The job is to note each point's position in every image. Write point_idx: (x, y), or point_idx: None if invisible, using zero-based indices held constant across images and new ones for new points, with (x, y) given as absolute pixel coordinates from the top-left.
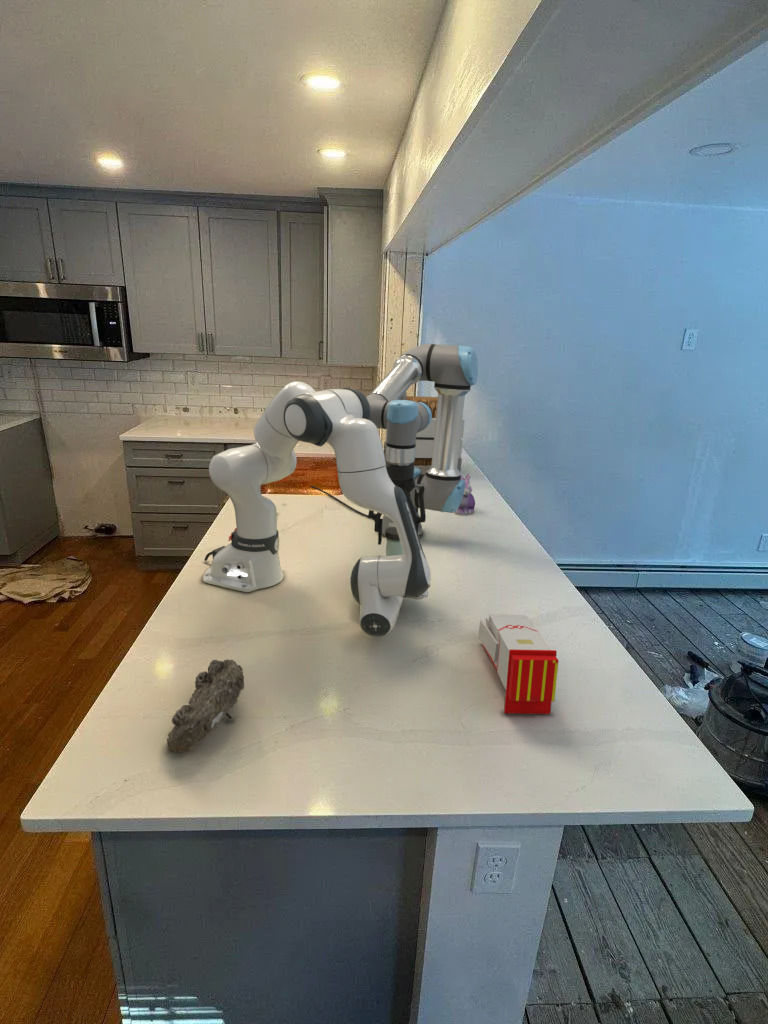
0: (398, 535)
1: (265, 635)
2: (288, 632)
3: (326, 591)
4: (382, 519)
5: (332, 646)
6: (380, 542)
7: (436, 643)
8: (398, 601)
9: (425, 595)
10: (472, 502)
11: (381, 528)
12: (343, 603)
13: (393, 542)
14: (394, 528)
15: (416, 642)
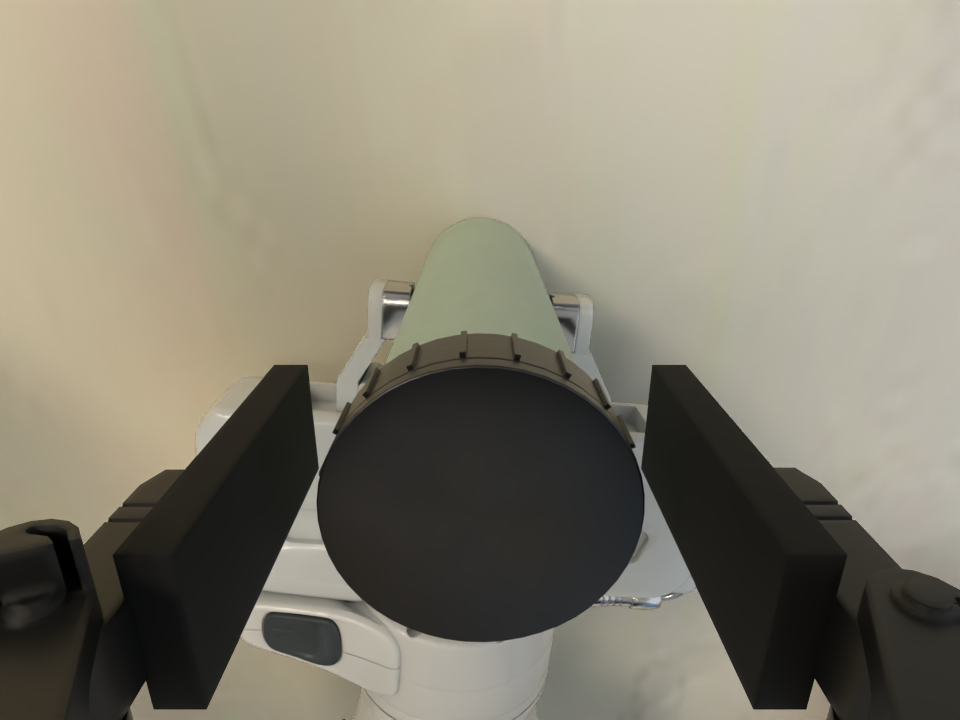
0: (520, 633)
1: None
2: None
3: (93, 309)
4: (180, 577)
5: (290, 711)
6: (308, 484)
7: (682, 650)
8: (532, 710)
9: (685, 593)
10: None
11: (250, 600)
12: None
13: None
14: (444, 441)
15: (603, 654)
